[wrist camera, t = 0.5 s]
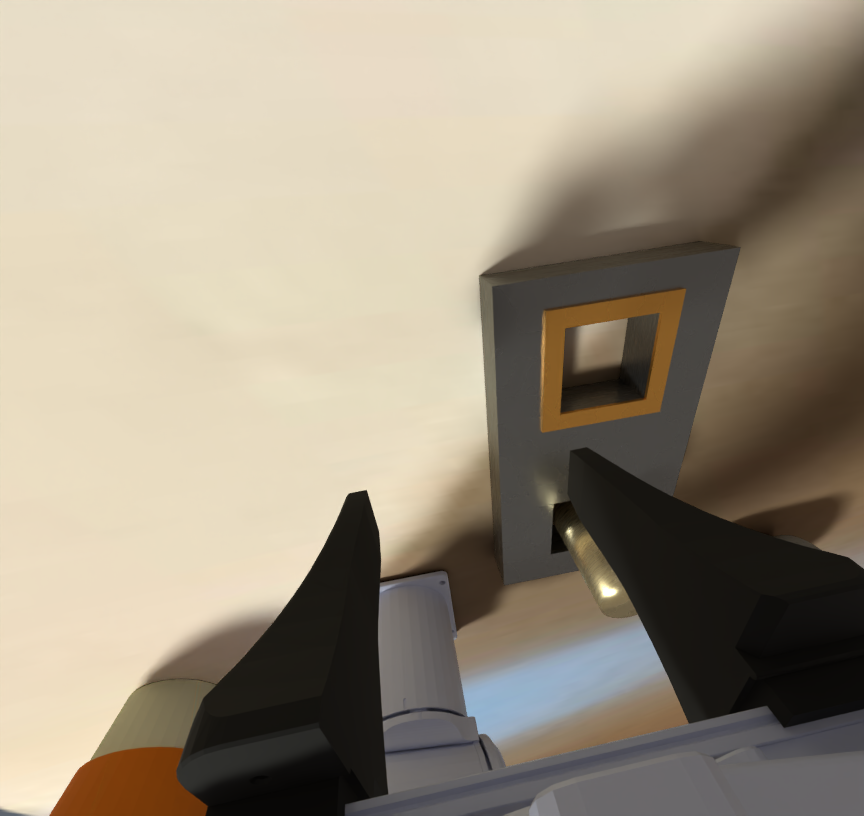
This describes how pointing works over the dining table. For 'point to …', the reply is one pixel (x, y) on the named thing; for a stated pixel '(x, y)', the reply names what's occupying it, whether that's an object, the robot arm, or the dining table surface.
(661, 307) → the hole plate
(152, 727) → the reusable coffee cup
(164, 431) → the dining table surface
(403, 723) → the robot arm
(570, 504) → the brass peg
